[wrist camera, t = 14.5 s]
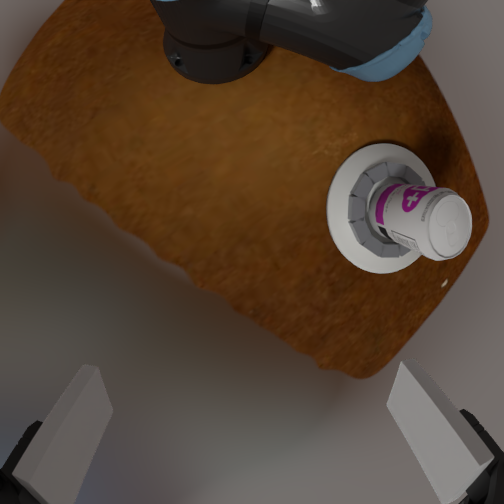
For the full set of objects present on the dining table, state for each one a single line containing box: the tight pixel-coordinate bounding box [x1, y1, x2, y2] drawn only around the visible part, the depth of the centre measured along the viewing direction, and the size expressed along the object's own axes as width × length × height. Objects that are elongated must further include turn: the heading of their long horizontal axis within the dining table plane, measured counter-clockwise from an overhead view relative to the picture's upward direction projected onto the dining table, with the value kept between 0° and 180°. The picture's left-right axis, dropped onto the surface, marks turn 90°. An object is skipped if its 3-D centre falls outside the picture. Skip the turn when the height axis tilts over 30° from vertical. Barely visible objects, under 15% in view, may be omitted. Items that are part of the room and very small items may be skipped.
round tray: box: [326, 143, 436, 273], centre depth 40 cm, size 20×20×3 cm
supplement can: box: [368, 183, 472, 261], centre depth 33 cm, size 8×8×15 cm
